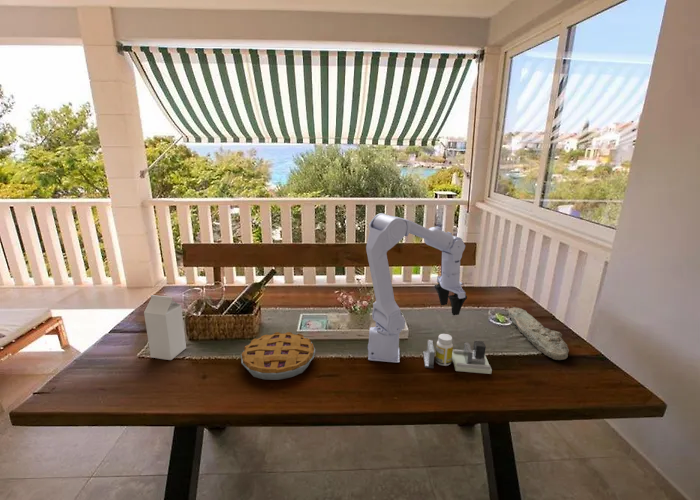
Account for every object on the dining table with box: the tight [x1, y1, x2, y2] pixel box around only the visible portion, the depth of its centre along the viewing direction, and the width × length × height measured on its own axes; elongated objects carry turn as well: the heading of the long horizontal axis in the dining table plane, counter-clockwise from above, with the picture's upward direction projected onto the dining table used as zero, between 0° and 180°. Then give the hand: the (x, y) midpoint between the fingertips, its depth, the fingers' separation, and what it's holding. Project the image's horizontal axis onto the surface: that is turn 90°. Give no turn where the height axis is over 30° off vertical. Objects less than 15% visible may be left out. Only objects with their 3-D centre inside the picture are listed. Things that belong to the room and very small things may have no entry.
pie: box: [240, 331, 316, 381], centre depth 105 cm, size 22×22×5 cm
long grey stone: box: [507, 307, 570, 361], centre depth 124 cm, size 35×5×10 cm
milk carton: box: [143, 294, 187, 361], centre depth 107 cm, size 7×7×19 cm
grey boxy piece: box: [463, 340, 487, 365], centre depth 105 cm, size 5×6×6 cm
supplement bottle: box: [434, 333, 454, 367], centre depth 106 cm, size 5×5×8 cm
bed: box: [452, 348, 493, 375], centre depth 106 cm, size 10×9×2 cm
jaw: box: [422, 339, 436, 369], centre depth 107 cm, size 2×8×5 cm, turn 173°
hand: (449, 309), depth 118 cm, fingers open, 7 cm apart
